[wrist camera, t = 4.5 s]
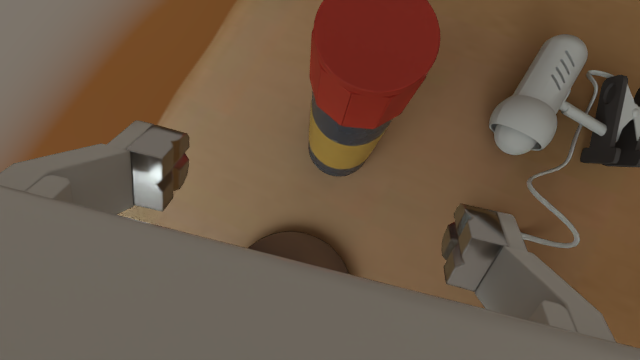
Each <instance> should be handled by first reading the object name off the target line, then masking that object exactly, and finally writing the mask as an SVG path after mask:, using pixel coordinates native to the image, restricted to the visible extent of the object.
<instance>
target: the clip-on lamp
mask: <svg viewBox="0 0 640 360" xmlns="http://www.w3.org/2000/svg"><path fill="white" fill-rule="evenodd" d="M587 56H588V52H587V48H586V45H585V44H584V43H583V41H582V40H580V39H579V38H578V37H576V36H573V35H568V34H562V35H558V36H554V37H552V38H550V39H548V40H547V41H546V42H545V43H544V44H543V45H542V47H541V49H540V50H539V52H538V54H537V55H536V57H535V59H534V60H533V62H532V64H531V65H530V67H529V69H528V70H527V72H526V74H525V75H524V77H523V79H522V80H521V82H520V84H519V85H518V87H517V89H516V90H515V92H514V94H513V95H512V96H511V97H509V98H507V99H505V100H504V101H502V102H501V103H500V104H498V106H497V107H496V108H495V109H494V111H493V112H492V114H491V117H490V120H489V128H490V129H491V130H492V131H493V132H494V139H495V142H496V145H497V146H498V147H499V148H500V149H501V150H502V151H503V152H505V153H507V154H511V155H520V154H524V153H526V152H528V151H530V150H534V151H540V150H542V149H544V148H545V147H546V146H547V145H548V144H549V143H550V142H551V140H552V139H553V136H554V134H555V132H556V129H557V117H556V113H557V112H558V110H559V109H560V110H561V113H562V114H564V115H566V116H567V117H569V118H571V119H573V120H574V121H576V122H578V123H579V125H578V128H577V130H576V132H575V135H574V137H573V140H572V144H571V147H570V151H569V154H568V157H567V159H566V160H565V161H564V162H563V163H562V164H561V165H559V166H557V167H555V168H553V169H550V170H547V171H544V172H541V173H538V174H535V175H533V176H532V177H530V178H529V179H528V181H527V186H528V189H529V190H530V191H531V193H532V194H533V195H534V196H535V197H536V198H537V199H538V200H539V201H540V202H541V203H542V204H544V205H545V206H546V207H547V208H548V209H549V210H550V211H552V212H553V213H554V214H555V215H556V216H557V217H558V218H559V219H560V220H562V221H563V222H564V223H565V224H566V225H567V226H568V228H569V229H570V230H571V232H572V233H573V235H574V241H573V242H572V243H559V242H553V241H549V240H545V239H542V238H538V237H535V236H531V235H528V234H525V233H522V232H520V233H521V235H522V238H523V239H525V240H529V241H532V242H536V243H540V244H544V245H548V246H553V247H559V248H571V247H575V246H577V245H578V243H579V242H580V238H579V233H578V232H577V230H576V229H575V227H574V226H573V224H572V223H571V222H570V221H569V220H568V219H567V218H566V217H565V216H564V215H563V214H562V213H560V212H559V211H558V210H557V209H556V208H555V207H554V206H552V205H551V204H550V203H549V202H548V201H547V200H546V199H544V198H543V197H542V196H541V195H540V194H539V193H538V192H537V191H536V190H535V189H534V188H533V186H532V183H531V182H532V180H533V179H534V178H536V177H538V176H541V175H545V174H548V173H551V172H554V171H557V170H559V169H561V168H563V167H564V166H566V164H567V163H568V162H569V161H570V159H571V157H572V154H573V151H574V148H575V145H576V141H577V138H578V135H579V133H580V130H581V128H582V126H584V127H586V128H588V129H590V130H591V131H593V132H592V137H591V141H590V146H589V148H584V149H583V151H582V154H581V158H580V161H581V162H583V163H601V164H603V165H605V166H618V167H640V88H639V89H638V91H637V93H636V95H635V97H634V100H633V97H632V95H631V92H630V89H629V87H628V78H627V76H623V75H617V76H614V75H612V74H609V73H607V72H603V71H597V70H590V71H588V72H587V74H586V76H587V78H588V79H589V80H590V81H591V83H592V84H593V86H594V93H593V96H592V98H591V101H590V103H589V105H588V107H587V109H586V111H585V112H583V111H581V110H580V109H578V108H576V107H575V106H573V105H572V104H570V103H568V102H566V99H567V97H568V95H569V93H570V92H571V90H570V89H571V87H572V85H573V84H574V82H575V80H576V78H577V76H578V75H579V73H580V71H581V69H582V68H583V66H584V64H585V62H586V60H587ZM591 75H597V76H602V77H606V78H607V79H606V80H605V81H604V82H603V84H602V87H601V92H600V97H599V102H598V107H597V112H596V117H595V118H593V117H591V116H590V115H588V113H589V111H590V109H591V107H592V104H593V102H594V100H595V98H596V95H597V92H598V85H597V82H596V81H595V79H594V78H593V77H592V76H591Z"/></svg>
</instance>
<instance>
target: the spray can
mask: <svg viewBox="0 0 640 360" xmlns="http://www.w3.org/2000/svg"><path fill="white" fill-rule="evenodd" d="M391 121H392V119H391V120H389V121H388V122H386V123H384V124H382V125H381V126H379V127H377V128H376V129H365V128H354V127H344V126H342V125H339V124H338V123H337V122H336V121H335V120H333V119H332V118H331V117H330V116H329V115H327V114H326V113H325V112H324V111H323V110H321V109H320V108H319V107H318V106H317V105H316V101H315V97H314V93H313V92H312V101H311V113H310V127H309V154H310V157H311V159H312V161H313V163H314V164H315V165H316V167H317V168H318V169H320V170H321V171H322V172H324V173H326V174H329V175H332V176H346V175H349V174H352V173H354V172H355V171H357V170H358V169H359V168H360V167H361V166H362V165H363V163H364V162H365V160H366V159H367V158H368V156H369V155H370V153H371V152H372V150H373V149H374V147H375V146H376V144H377V143H378V141H379V140H380V138H381V137H382V135H383V134H384V132H385V131H386V129H387V128H388V126H389V124H390V122H391Z"/></svg>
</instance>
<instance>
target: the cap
mask: <svg viewBox="0 0 640 360" xmlns="http://www.w3.org/2000/svg"><path fill="white" fill-rule="evenodd" d="M439 46H440V28H439V23H438V20H437V17H436V14H435V12H434V10H433V8H432V7H431V5H430V4H429V2H428V1H427V0H323V2H322V4H321V5H320V7H319V9H318V11H317V14H316V17H315V22H314V29H313V31H312V39H311V58H310V81H311V85H312V89H313V93H314V97H315V101H316V105H317V106H318V107H319V108H320V109H321V110H323V111H324V112H325V113H326V114H327V115H329V116H330V117H331V118H332V119H333V120H335V121H336V122H337V123H338V124H339V125H342V126H344V127H354V128H365V129H376V128H377V127H379V126H381V125H382V124H384V123H386V122H388V121H389V120H391V119H393V118H394V117H396V116H398V115H400V114H401V113H402V111H403V110H404V108H405V107H406V105H407V104H408V103H409V101H410V100H411V98H412V97H413V95H414V94H415V92H416V91H417V90H418V88H419V87H420V85H421V84H422V82H423V81H424V79H425V78H426V75H427V73H428V71H429V70H430V68H431V67H432V65H433V63H434V61H435V60H436V57H437V54H438V51H439Z"/></svg>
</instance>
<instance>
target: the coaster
mask: <svg viewBox="0 0 640 360" xmlns="http://www.w3.org/2000/svg"><path fill="white" fill-rule="evenodd" d="M248 249H252V250H256V251H260V252H264V253H268V254H272V255H276V256H280V257H284V258H287V259H291V260H295V261H299V262H303V263H307V264H311V265H315V266H319V267H323V268H327V269H331V270H334V271H338V272H342V273H346V274H349V273H348V271H347V268H346V266H345V264H344V262H343V261H342V259H341V258H340V256H339V255H338V254H337V252H336V251H335V250H334V249H333V248H332V247H331V246H329V245H328V244H327V243H325V242H324V241H322V240H321V239H319V238H317V237H315V236H312V235H310V234H306V233H302V232H279V233H275V234H271V235H269V236H266V237H264V238H262V239H260V240H258V241H257V242H255V243H254V244H253V245H251V246H250V247H249V248H248Z"/></svg>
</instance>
